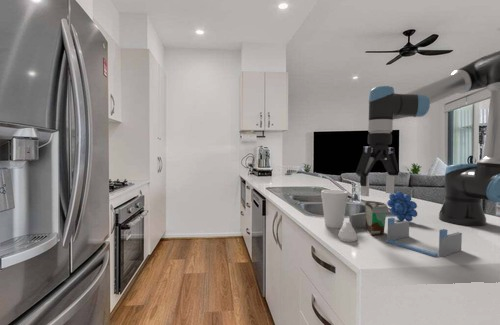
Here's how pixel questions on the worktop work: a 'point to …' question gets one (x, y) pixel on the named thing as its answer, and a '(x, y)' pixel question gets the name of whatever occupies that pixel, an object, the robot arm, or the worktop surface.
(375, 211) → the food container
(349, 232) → the garlic bulb
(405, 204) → the grapes
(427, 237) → the worktop surface
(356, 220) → the blue-edged channel bracket
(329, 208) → the foam cup
